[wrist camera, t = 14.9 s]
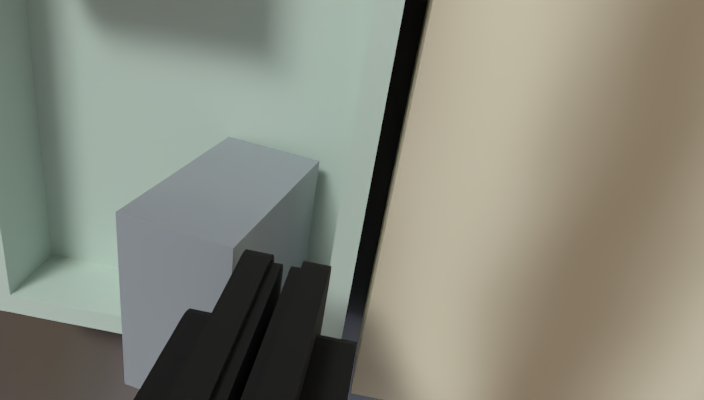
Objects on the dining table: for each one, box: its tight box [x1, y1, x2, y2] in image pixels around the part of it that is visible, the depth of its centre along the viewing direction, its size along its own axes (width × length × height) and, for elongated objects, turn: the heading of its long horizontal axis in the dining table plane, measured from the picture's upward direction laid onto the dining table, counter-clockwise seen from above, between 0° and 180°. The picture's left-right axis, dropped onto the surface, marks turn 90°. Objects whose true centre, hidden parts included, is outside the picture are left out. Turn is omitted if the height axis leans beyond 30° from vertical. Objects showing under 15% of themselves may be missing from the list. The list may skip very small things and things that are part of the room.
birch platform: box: [351, 0, 704, 400], centre depth 13 cm, size 10×16×3 cm, turn 171°
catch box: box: [0, 0, 405, 339], centre depth 13 cm, size 10×16×2 cm, turn 171°
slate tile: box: [115, 137, 319, 389], centre depth 14 cm, size 4×4×2 cm
